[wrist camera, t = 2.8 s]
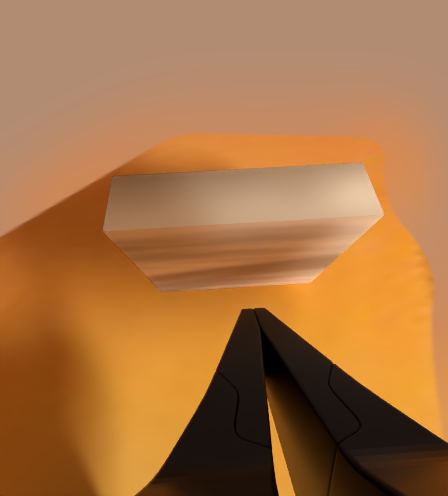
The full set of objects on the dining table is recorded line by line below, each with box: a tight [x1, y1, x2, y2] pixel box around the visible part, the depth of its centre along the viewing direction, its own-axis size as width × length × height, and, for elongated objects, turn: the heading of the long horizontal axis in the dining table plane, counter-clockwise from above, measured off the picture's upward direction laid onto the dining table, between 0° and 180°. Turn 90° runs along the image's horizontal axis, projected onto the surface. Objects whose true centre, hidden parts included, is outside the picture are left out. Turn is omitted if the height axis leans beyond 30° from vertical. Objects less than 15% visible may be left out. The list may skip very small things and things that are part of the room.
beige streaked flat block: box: [103, 162, 384, 292], centre depth 15 cm, size 3×12×10 cm, turn 93°
